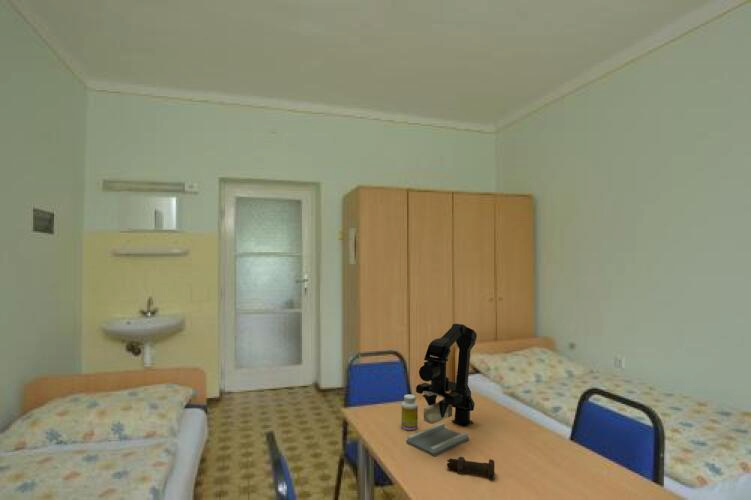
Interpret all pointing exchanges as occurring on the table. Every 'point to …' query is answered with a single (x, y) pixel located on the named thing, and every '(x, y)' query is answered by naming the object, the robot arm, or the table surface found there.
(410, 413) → the supplement bottle
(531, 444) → the table surface
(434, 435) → the cradle
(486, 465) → the bolt
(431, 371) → the robot arm
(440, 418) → the banded block
